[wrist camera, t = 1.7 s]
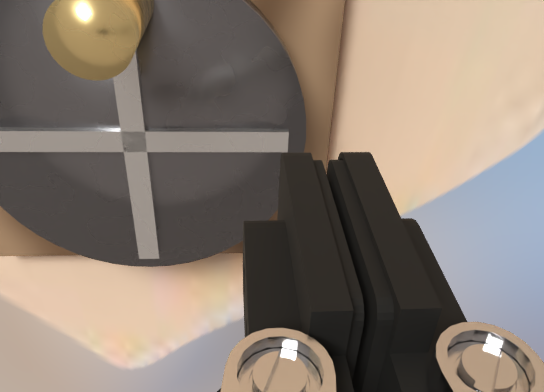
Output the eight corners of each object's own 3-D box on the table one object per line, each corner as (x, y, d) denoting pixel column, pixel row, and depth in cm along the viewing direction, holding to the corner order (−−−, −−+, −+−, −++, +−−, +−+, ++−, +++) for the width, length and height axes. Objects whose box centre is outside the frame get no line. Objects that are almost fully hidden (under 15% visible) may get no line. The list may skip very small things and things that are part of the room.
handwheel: (290, 232, 35) (305, 332, 28) (19, 235, 34) (-37, 340, 27) (312, -56, 25) (343, -15, 18) (-75, -69, 24) (-206, -29, 17)
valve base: (350, -106, 26) (358, -102, 24) (313, 238, 38) (317, 255, 37) (-115, -123, 24) (-139, -121, 22) (5, 242, 36) (-5, 259, 35)
